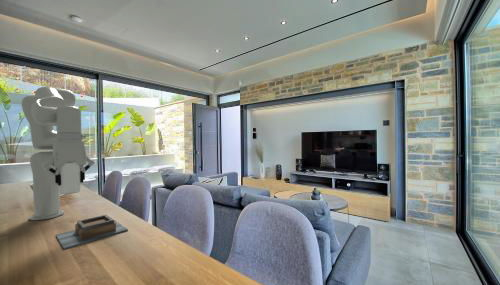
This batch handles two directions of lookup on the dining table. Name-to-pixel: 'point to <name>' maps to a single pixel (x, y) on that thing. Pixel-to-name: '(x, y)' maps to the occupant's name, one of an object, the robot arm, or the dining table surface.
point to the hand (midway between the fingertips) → (70, 183)
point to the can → (70, 178)
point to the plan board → (77, 241)
